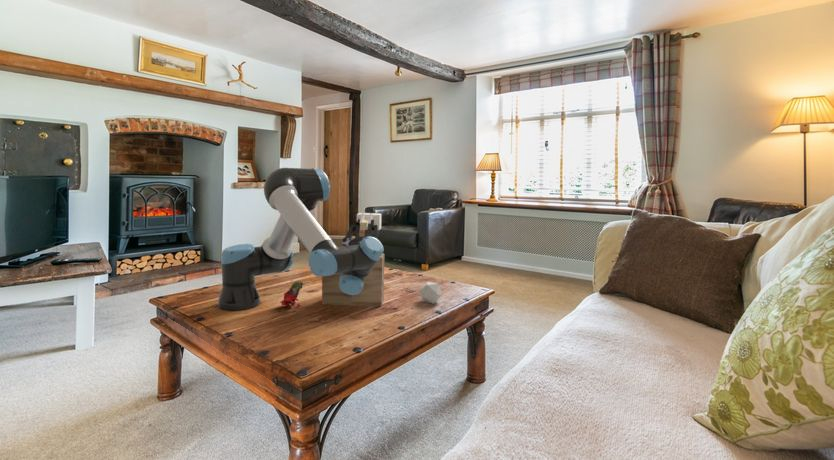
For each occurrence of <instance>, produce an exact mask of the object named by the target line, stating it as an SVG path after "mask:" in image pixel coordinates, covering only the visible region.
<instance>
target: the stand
mask: <svg viewBox="0 0 834 460" xmlns="http://www.w3.org/2000/svg"><path fill="white" fill-rule="evenodd" d="M327 235H328V236H329V237H330V239H331V240H332V241H333V242H334V243H335V245H336V246H337V247H344V245H343V240H342V239H343V238H344V237H346V235H329V234H327ZM354 238H355V235H353V236H352V238H351V240H353V239H354ZM351 240H350V241H351ZM346 246H348V245H346ZM341 274H342V273H339V274H334V275H331V276H321V300H322V301H321V305H327V306H329V305H330V306H331V305H333V306H335V305H336V306H355V307H357V306H361V307H382V306H383V303H384V297H385V293H384V292H385V253H383V254H382V255H381V257H380V259H379V261H378V262H377V263H376V265H375V266H374V267H373V269H372V270H371V271H370V273H369V275H368V276H367V277H366V279H365V281H364V286H363V288H362V291H361V292H360V293H358V294H356V295H348V294H346V293H344V292H342V291H341V289H340V287H339V282H340V277H341Z"/></svg>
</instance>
